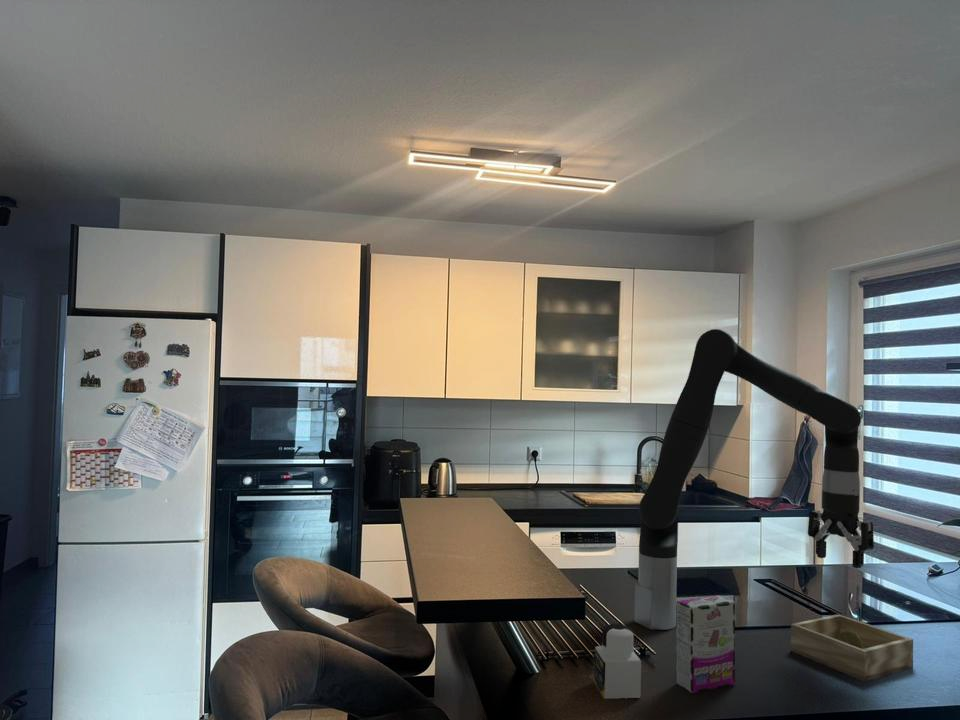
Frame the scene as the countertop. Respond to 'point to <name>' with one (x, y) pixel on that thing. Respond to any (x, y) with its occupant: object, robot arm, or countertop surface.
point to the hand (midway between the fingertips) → (838, 562)
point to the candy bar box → (705, 643)
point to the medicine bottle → (617, 664)
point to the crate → (852, 647)
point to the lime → (850, 638)
